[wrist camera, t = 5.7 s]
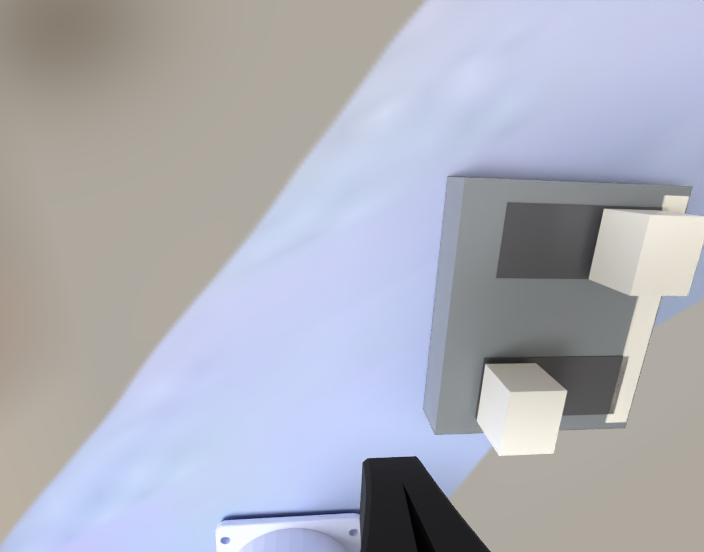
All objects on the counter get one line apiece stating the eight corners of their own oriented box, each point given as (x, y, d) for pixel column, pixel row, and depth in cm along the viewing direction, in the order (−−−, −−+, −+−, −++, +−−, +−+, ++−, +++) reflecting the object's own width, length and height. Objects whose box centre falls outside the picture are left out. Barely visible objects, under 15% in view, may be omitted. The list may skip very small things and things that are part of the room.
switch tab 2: (639, 279, 16) (687, 296, 14) (588, 279, 16) (630, 295, 14) (657, 210, 15) (711, 216, 13) (603, 208, 15) (650, 214, 13)
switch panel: (596, 404, 21) (627, 430, 19) (423, 409, 20) (435, 437, 18) (651, 184, 18) (696, 186, 16) (447, 176, 17) (466, 177, 15)
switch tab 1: (525, 419, 18) (553, 453, 16) (476, 421, 18) (498, 455, 15) (536, 363, 17) (567, 390, 15) (485, 363, 17) (510, 391, 15)
